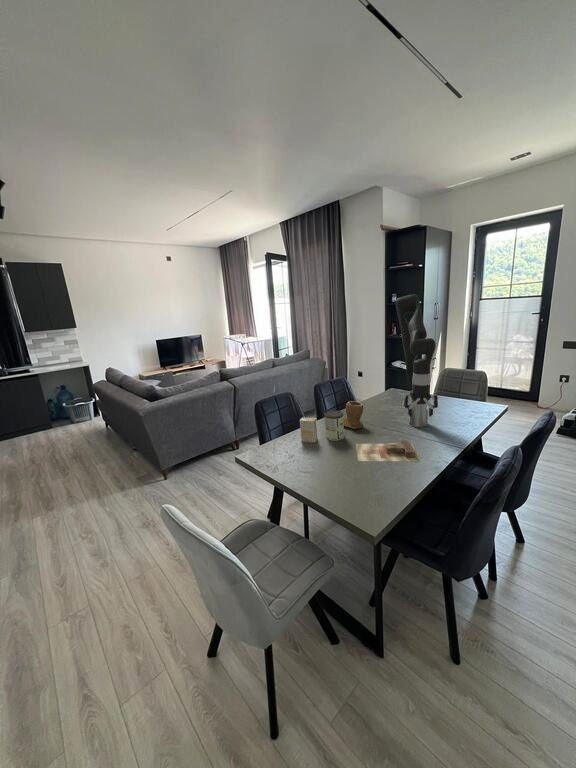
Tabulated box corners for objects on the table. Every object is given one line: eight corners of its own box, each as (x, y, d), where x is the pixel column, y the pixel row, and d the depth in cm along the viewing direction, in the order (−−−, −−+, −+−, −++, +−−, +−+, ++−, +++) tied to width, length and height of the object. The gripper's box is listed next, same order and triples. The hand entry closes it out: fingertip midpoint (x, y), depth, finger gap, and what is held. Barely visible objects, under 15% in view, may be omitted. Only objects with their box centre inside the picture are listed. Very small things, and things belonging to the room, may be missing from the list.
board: (412, 445, 156) (412, 443, 156) (421, 463, 139) (421, 461, 139) (355, 445, 161) (355, 443, 161) (357, 462, 144) (357, 461, 143)
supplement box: (317, 439, 171) (316, 418, 168) (315, 443, 167) (313, 421, 164) (304, 438, 175) (302, 416, 171) (301, 442, 171) (299, 420, 167)
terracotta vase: (368, 425, 184) (367, 402, 180) (354, 431, 177) (354, 407, 174) (349, 419, 196) (348, 397, 192) (335, 425, 189) (334, 402, 185)
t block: (409, 446, 153) (409, 440, 152) (415, 457, 142) (415, 452, 141) (384, 446, 155) (384, 440, 155) (388, 457, 144) (388, 452, 143)
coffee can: (327, 432, 180) (326, 409, 176) (345, 433, 176) (344, 410, 173) (324, 440, 170) (322, 416, 167) (342, 441, 167) (341, 417, 163)
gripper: (436, 380, 141) (434, 413, 145) (403, 380, 145) (402, 413, 148) (440, 384, 134) (438, 419, 138) (405, 385, 137) (405, 419, 141)
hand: (420, 416), depth 143 cm, fingers open, 8 cm apart
